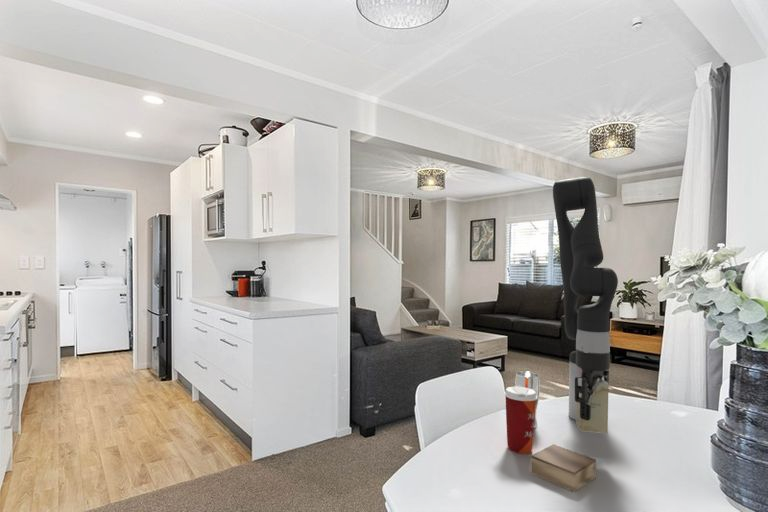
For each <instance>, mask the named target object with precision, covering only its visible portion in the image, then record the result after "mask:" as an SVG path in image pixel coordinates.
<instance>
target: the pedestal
mask: <svg viewBox="0 0 768 512" xmlns="http://www.w3.org/2000/svg"><path fill="white" fill-rule="evenodd" d="M596 461H597V460H596V458H593V457H590V456H587V455H585V454H582V453H579V452H576V451H573V450H570V449H568V448H565V447H562V446H561V445H560V446H559V445H558V444H554V443H552V444H551V445H549V446H547V447H545V448H544V449H541V450H539V451H537V452H535V453H533V454H531V456H530V474H532V475H535V476H536V477H539V478H541V479H544V480H545V481H548V482H550V483H553V484H555V485H558V486H559V487H562V488H564V489H567V490H569V491H571V492H574V493H575V492H576V491H577V490H580V489H581V488H582V487H584V486H585V485H586V484H588V483H589V482H591V481H592V480H594V479H595V478H596V471H597V470H596V468H597V467H596V466H597V465H596V463H597V462H596Z"/></svg>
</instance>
